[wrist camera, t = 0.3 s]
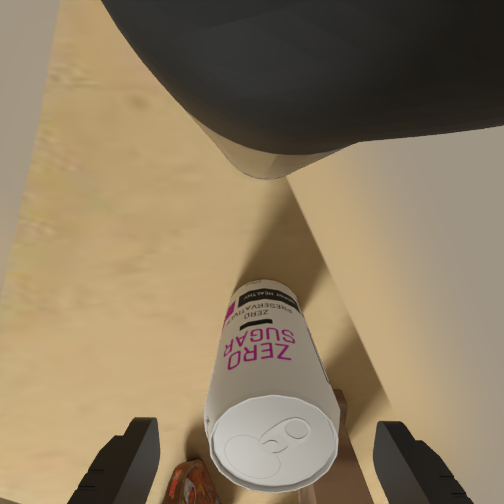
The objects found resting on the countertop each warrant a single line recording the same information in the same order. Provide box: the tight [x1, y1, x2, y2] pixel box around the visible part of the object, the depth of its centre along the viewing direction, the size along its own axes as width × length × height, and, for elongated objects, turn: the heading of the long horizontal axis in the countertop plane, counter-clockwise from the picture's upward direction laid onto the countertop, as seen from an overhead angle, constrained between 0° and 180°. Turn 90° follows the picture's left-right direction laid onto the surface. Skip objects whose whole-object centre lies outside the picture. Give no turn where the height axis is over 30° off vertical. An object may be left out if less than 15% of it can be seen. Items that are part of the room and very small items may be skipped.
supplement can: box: [203, 279, 340, 494], centre depth 20 cm, size 8×8×15 cm
